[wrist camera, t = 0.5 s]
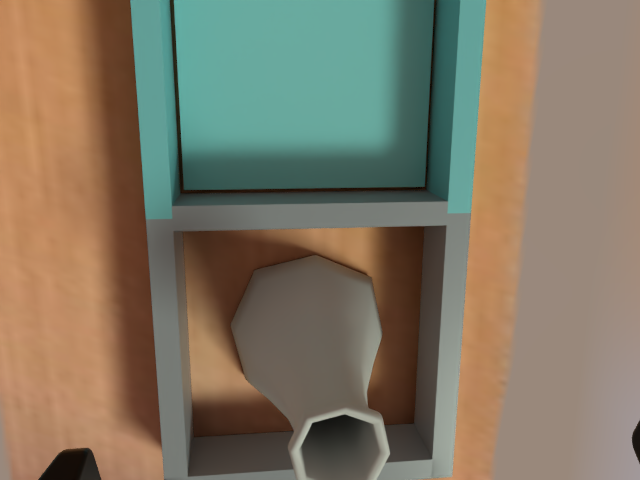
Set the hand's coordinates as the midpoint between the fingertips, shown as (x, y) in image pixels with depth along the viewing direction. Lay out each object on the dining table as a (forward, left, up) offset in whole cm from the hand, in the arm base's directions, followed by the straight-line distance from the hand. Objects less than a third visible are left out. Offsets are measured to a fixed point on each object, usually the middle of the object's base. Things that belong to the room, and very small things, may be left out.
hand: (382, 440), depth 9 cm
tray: (+1, 0, -17) cm, 17 cm away
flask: (-4, -4, -18) cm, 18 cm away
